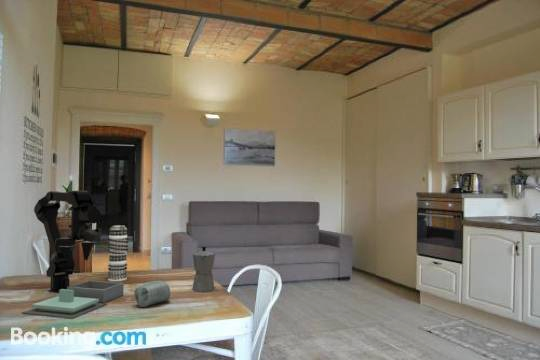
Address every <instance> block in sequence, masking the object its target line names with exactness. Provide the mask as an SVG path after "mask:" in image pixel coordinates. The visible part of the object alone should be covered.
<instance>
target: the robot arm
mask: <svg viewBox="0 0 540 360" xmlns="http://www.w3.org/2000/svg"><path fill="white" fill-rule="evenodd" d="M61 202H66V203H67V204H68V205H71V206H69V208H68V211H71V214H70V216H71V217H70V223H71V224H68V228H69V229H70V235H68V236H67V237H62V235H61V231H60V229H59V225H58V222H57V218H58V216H59V210H60V208H61ZM97 207H98V206H97V205H95V202H94V200H93V197H92V195H91V194H90V191H88V190H69V191H68V192H65V191H57V190H56V191H54V190H53V191H52V190H51V191H47V193H45V196H42V197H41V198H40V199H39V200H38V201H37V202H36V203H35V206H34V208H33V212H34V214H35V217H36V218H37V220H38V221H40V223H42V224H43V227H44V231H45V234H46V237H47V240H48V244H49V248H50V250H51V257H50V261H49V263H50V265H49V266H48V268H47V269H46V277H49V278H50V289H47V292H50V293H59V290H60V289H67V287H69V286H70V275H73V274H74V270H75V267H76V263H75V258H74V255H73V251H74V249H75V248H76V245H75V244H76V243H81V249H82V255H83V258H84V261H88V260H89V257H90V254H91V251H92V249H93V247H94V246H95V245H96V244H98V243H99V242H101V237H103V236H102V234H103V233H102V232H103V231H102V229H101V228H100V227H98V228H97V227H96V228H95V229H92V228H90V227H91V226H90V224H97V223H99V222H100V220H101V218H102V212H101V211H100V210H99V209H98V208H97Z"/></svg>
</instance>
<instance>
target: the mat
mask: <svg viewBox="0 0 540 360" xmlns="http://www.w3.org/2000/svg"><path fill="white" fill-rule="evenodd" d="M107 305H108V304H107V303H104V304H102V303H94V304H92V306H91V307H88V308H86V309H83V310H80V311H78V312H75V313H73V314H72V313H62V312H53V311H43V310H39V308H31V309H28V310H25V311H22V312H21V314H23V315H30V316H31V315H32V316H33V315H34V316H41V317H52V318H60V319H71V320H73V319H77V318H78V317H80V316H83V315H86V314H88V313H90V312H93V311H95V310H97V309H100V308H102V307H105V306H107Z"/></svg>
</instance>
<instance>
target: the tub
mask: <svg viewBox="0 0 540 360" xmlns="http://www.w3.org/2000/svg"><path fill="white" fill-rule="evenodd" d="M124 286H125V285H124V283H123V282H116V281H103V280H102V281H101V280H99V281H98V280H86V281H83V282H79V283H76V284H72V285H69V287H67V290H74V297H83V298H94V299H99V302H97V303H102V304H107V303H109V302H112V301H115V300H117V299H120V298H122V297H124Z"/></svg>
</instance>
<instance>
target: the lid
mask: <svg viewBox="0 0 540 360" xmlns="http://www.w3.org/2000/svg"><path fill="white" fill-rule="evenodd" d="M58 293H59V294H58V295H57V296H53V297H51V298H48V299H44V300H42V301H38V302H35V303H32V304H31V308H32V309H34V308H39V310H43V311H53V312H62V313H72V314H73V313H75V312H78V311H80V310H83V309H86V308H88V307H91V306H92V304H94V303H97V302H99V299H94V298H83V297H74V290H67V289H60V290H59V292H58Z"/></svg>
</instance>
